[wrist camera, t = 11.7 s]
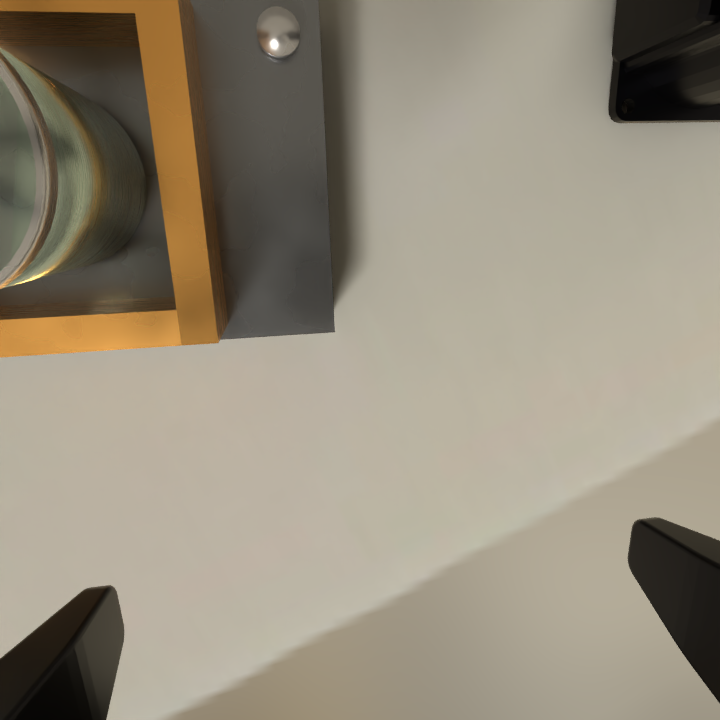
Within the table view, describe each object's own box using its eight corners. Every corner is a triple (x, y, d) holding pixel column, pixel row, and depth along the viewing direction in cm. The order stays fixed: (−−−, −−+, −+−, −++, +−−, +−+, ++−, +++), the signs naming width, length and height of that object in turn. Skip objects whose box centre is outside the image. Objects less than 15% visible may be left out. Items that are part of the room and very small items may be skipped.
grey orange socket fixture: (313, 20, 16) (324, -58, 12) (328, 317, 19) (342, 351, 15) (-321, 11, 14) (-625, -91, 9) (-197, 349, 17) (-383, 402, 12)
